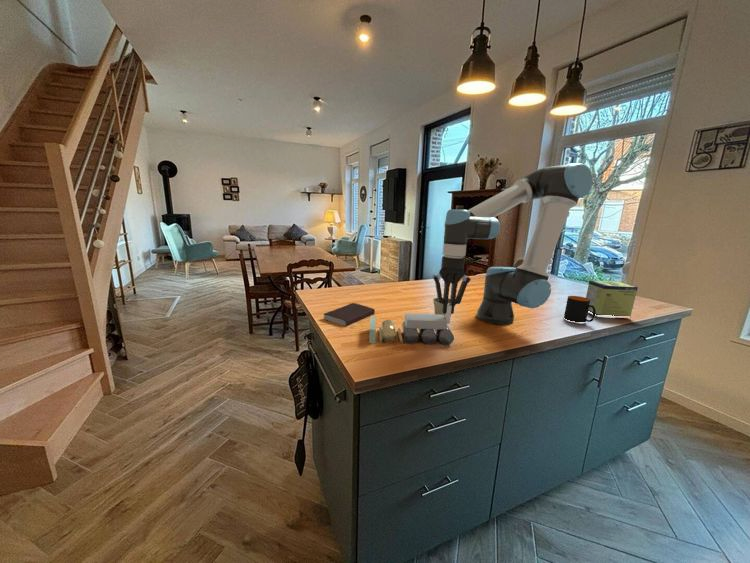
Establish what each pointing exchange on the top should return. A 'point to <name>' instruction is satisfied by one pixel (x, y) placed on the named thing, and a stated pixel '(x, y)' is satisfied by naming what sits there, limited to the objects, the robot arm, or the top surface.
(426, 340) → the roller track
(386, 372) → the top surface
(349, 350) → the top surface
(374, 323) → the stop fence
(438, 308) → the flower pot
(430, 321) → the slab
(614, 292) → the protein box
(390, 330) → the roller
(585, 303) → the mug
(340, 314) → the book
